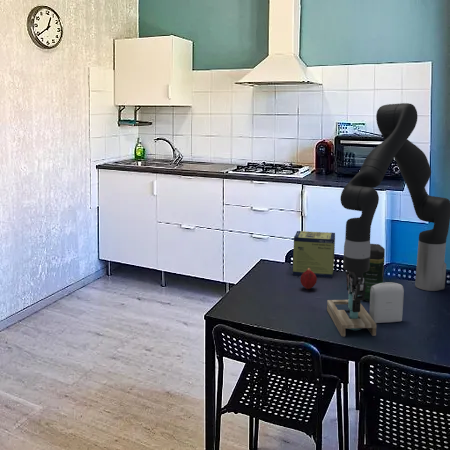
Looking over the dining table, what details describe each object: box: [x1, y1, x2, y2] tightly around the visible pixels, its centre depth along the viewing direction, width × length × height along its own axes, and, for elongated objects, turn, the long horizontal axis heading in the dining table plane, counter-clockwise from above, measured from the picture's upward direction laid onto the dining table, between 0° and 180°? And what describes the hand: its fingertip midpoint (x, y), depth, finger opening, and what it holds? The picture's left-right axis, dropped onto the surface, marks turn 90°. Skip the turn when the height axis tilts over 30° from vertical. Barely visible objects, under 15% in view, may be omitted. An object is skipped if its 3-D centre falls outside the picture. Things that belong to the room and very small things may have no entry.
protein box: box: [292, 230, 336, 279], centre depth 215 cm, size 10×16×16 cm
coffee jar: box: [363, 243, 386, 302], centre depth 188 cm, size 10×8×19 cm
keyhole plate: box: [326, 299, 378, 337], centre depth 169 cm, size 10×20×4 cm, turn 2°
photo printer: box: [368, 281, 405, 324], centre depth 169 cm, size 10×4×12 cm, turn 96°
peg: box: [346, 293, 363, 331], centre depth 164 cm, size 5×5×10 cm
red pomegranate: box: [299, 268, 318, 290], centre depth 197 cm, size 6×6×8 cm
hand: (354, 308), depth 164 cm, fingers closed on peg, 3 cm apart
